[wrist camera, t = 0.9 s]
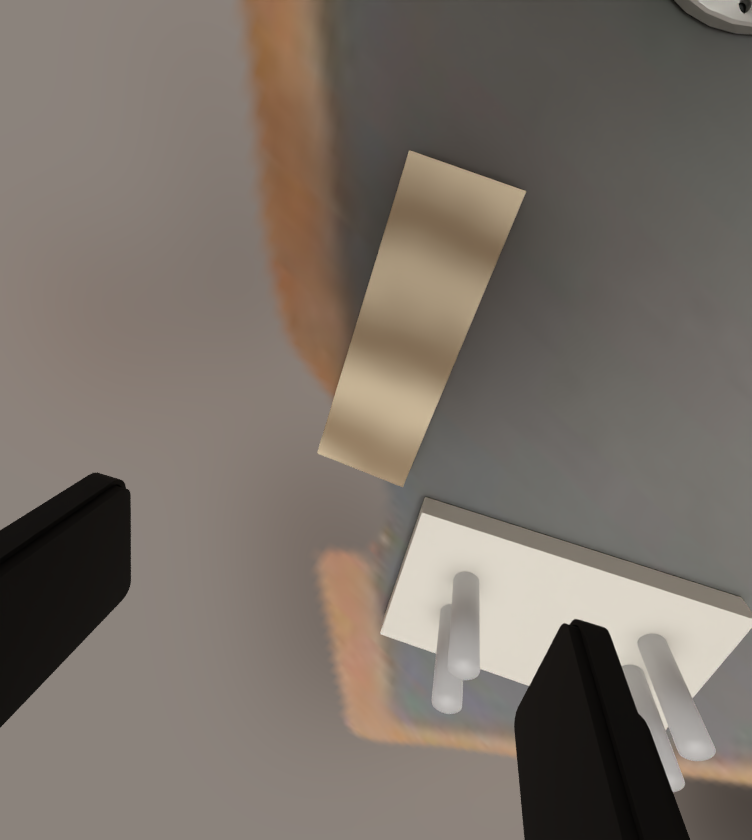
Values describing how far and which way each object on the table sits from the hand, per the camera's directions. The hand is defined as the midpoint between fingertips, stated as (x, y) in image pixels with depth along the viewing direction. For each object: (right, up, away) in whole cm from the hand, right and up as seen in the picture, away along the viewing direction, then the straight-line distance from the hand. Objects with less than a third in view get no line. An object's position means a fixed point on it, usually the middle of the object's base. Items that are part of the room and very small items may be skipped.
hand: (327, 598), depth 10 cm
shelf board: (+3, +9, +19) cm, 21 cm away
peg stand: (+14, -10, +25) cm, 30 cm away
